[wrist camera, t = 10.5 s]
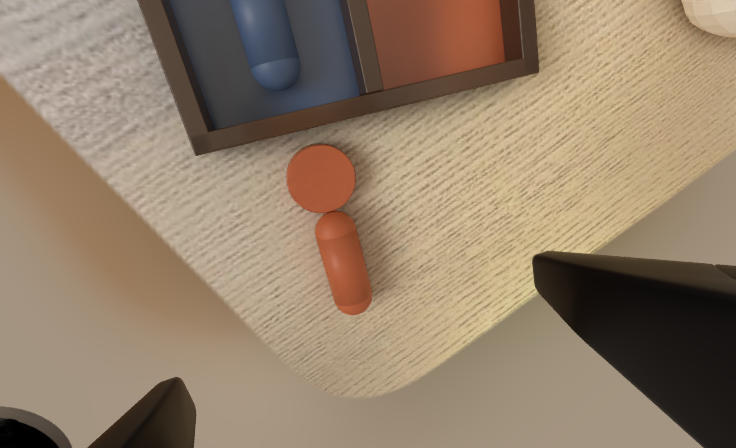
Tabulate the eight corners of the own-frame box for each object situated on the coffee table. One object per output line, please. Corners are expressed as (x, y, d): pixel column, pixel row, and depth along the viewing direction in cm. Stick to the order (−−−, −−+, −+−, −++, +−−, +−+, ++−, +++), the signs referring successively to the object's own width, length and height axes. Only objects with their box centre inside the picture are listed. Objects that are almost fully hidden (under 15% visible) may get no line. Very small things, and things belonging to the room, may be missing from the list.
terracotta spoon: (381, 293, 20) (391, 311, 19) (325, 311, 20) (330, 331, 18) (343, 136, 18) (350, 138, 16) (278, 152, 17) (277, 156, 15)
